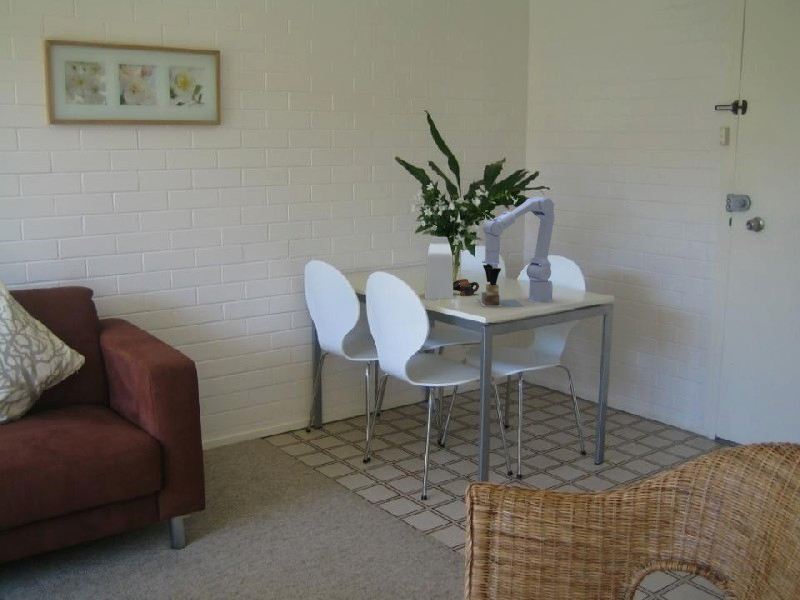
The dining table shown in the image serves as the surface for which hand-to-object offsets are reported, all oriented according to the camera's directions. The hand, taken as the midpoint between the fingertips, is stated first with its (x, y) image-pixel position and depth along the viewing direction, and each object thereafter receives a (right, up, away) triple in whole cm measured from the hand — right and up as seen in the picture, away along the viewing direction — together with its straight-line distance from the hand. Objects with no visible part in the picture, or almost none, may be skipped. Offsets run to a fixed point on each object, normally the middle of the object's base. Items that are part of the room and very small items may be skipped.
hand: (491, 283), depth 366 cm
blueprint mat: (+4, -8, +5) cm, 11 cm away
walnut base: (0, -9, +1) cm, 9 cm away
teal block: (-1, -7, +9) cm, 11 cm away
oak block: (0, -5, +1) cm, 5 cm away
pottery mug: (-9, -5, +25) cm, 27 cm away
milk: (-21, -6, +20) cm, 29 cm away
